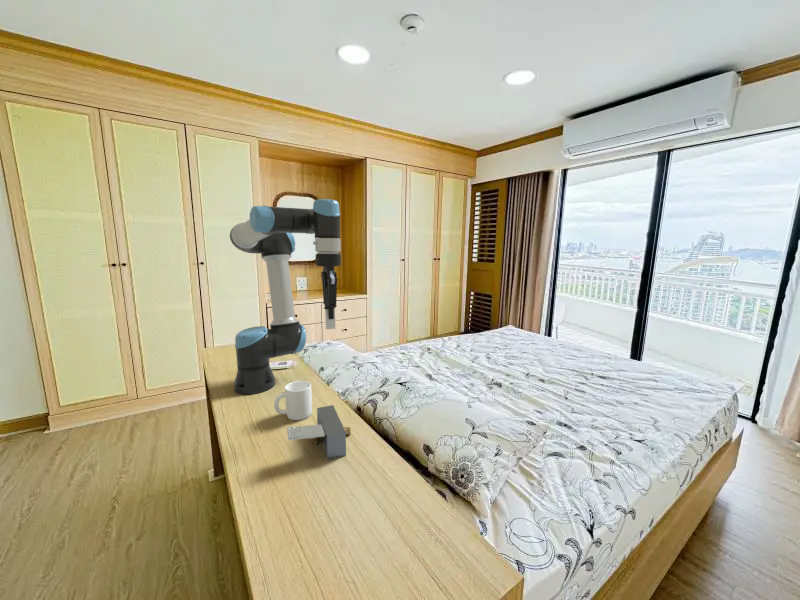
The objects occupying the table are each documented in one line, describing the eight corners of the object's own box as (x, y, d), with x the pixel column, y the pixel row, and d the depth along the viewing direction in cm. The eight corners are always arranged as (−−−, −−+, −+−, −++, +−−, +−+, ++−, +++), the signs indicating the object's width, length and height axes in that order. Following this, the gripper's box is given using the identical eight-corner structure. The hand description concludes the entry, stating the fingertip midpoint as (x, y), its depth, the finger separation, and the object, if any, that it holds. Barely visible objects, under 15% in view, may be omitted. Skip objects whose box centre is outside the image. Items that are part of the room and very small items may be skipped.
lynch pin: (310, 446, 95) (310, 438, 94) (308, 438, 98) (308, 431, 98) (351, 437, 99) (351, 430, 99) (348, 430, 103) (348, 423, 102)
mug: (277, 426, 104) (275, 396, 103) (273, 415, 111) (270, 386, 110) (315, 417, 110) (314, 387, 108) (308, 406, 117) (307, 378, 116)
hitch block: (317, 429, 103) (316, 408, 102) (333, 425, 105) (333, 405, 104) (327, 459, 89) (326, 435, 87) (346, 455, 91) (345, 431, 89)
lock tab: (287, 430, 89) (287, 427, 89) (321, 426, 92) (321, 424, 92) (288, 440, 84) (288, 437, 84) (324, 436, 88) (324, 433, 88)
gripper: (312, 252, 105) (315, 324, 109) (319, 253, 93) (322, 335, 97) (335, 252, 108) (337, 322, 112) (345, 253, 96) (347, 332, 100)
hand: (330, 328), depth 105 cm, fingers closed
